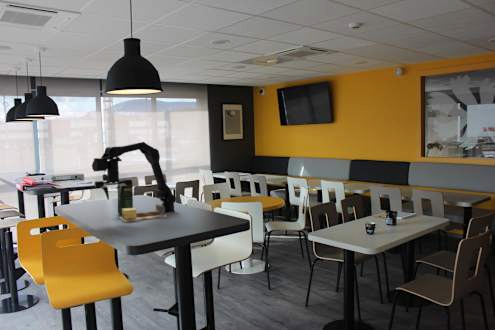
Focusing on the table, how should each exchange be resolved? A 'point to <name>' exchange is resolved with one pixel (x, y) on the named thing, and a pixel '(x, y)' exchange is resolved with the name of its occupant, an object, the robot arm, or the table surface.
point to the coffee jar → (125, 198)
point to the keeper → (129, 213)
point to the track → (147, 214)
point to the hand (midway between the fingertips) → (114, 199)
